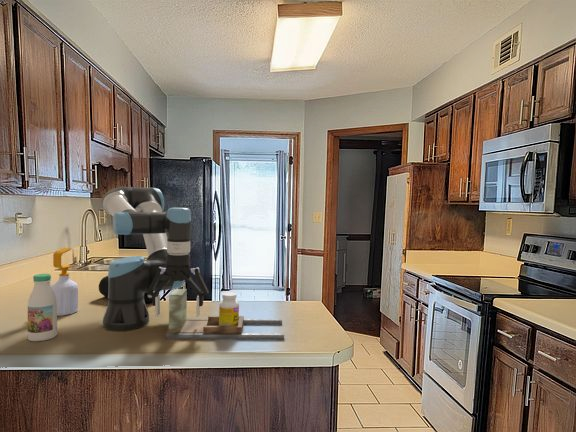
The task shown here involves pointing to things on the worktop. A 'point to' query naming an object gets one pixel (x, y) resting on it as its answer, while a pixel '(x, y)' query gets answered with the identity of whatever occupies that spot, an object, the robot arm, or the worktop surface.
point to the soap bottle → (64, 287)
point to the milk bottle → (42, 310)
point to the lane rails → (230, 335)
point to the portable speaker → (104, 290)
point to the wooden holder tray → (187, 326)
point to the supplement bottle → (229, 310)
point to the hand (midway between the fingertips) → (177, 315)
